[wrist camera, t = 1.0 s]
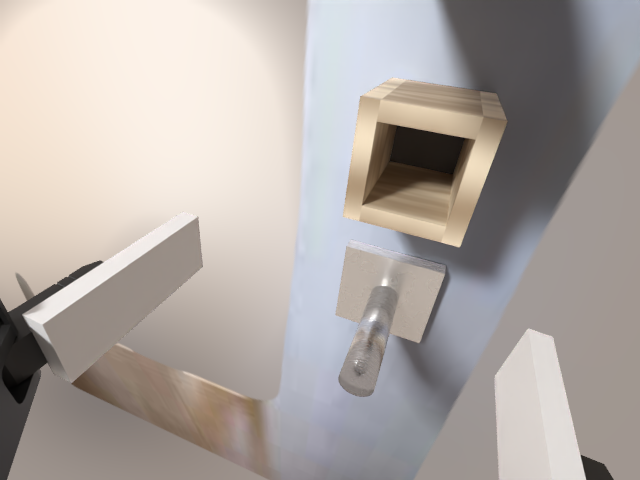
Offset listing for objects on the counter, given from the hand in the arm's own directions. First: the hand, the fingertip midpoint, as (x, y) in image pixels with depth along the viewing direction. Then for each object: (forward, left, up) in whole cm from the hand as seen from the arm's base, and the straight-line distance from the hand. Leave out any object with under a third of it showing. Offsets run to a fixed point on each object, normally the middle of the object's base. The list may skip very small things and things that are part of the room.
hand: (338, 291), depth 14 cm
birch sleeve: (-2, 0, -21) cm, 21 cm away
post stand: (+12, +10, -21) cm, 26 cm away
